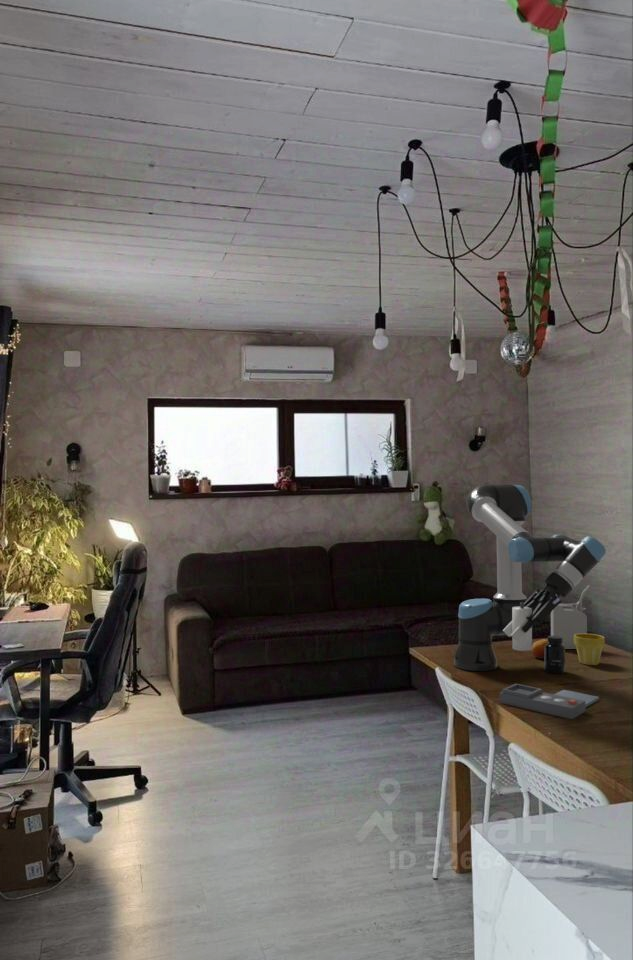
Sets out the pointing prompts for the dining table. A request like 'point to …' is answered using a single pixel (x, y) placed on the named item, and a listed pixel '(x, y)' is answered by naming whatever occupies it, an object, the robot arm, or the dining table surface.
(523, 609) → the paper towel holder
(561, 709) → the grey control panel
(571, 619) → the gas can
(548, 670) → the supplement bottle
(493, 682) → the dining table surface
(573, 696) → the mat
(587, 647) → the plant pot
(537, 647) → the fruit
